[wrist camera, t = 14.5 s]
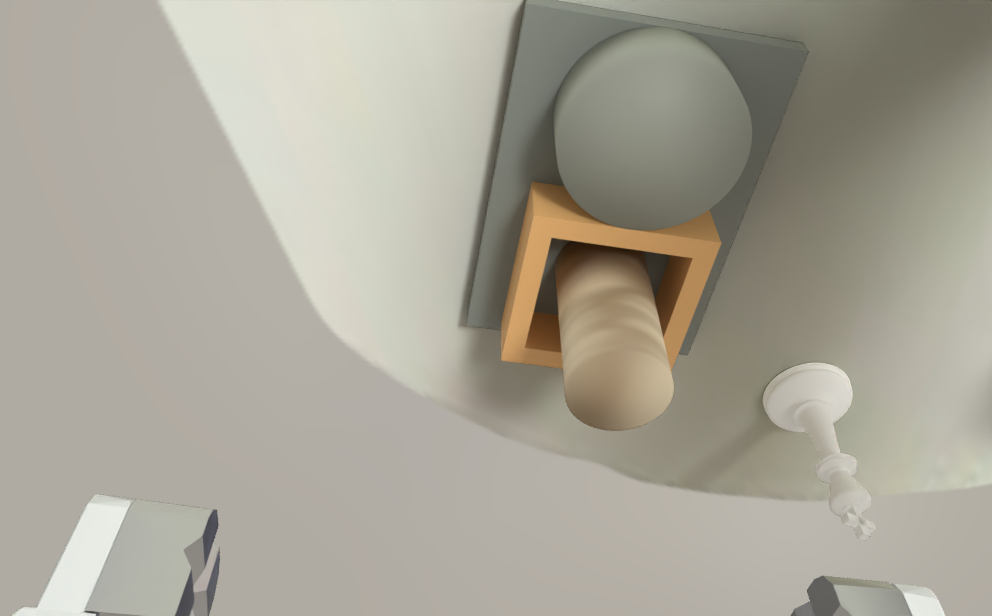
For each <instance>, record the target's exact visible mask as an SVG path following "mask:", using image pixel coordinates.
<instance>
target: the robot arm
mask: <svg viewBox="0 0 992 616" xmlns="http://www.w3.org/2000/svg"><path fill="white" fill-rule="evenodd" d="M217 516H218V515H217V510H215V509H207V508H199V507H192V506H184V505H177V504H169V503H162V502H154V501H147V500H139V499H133V498H124V497H116V496H107V495H98V494H96V495H94V496H93V498H92V499H91V500H90V501H89V502H88V503H87V504H86V505H85V507H84V509H83V511H82V514H81V516H80V518H79V520H78V522H77V524H76V526H75V528H74V530H73V532H72V534H71V536H70V538H69V540H68V542H67V545H66V546H65V548H64V550H63V552H62V554H61V556H60V558H59V561H58V562H57V565H56V567H55V569H54V571H53V573H52V575H51V577H50V579H49V581H48V583H47V585H46V587H45V589H44V591H43V593H42V595H41V597H40V599H39V601H38V603H37V605H36V607H22V608H20V609H19V610H17V611H16V612H15V613H13V614H12V615H11V616H209V613H210V610H211V606H212V602H213V599H214V595H215V589H216V585H217V580H218V574H219V562H220V555H219V553H220V552H219V547H218V546H217V545H216V544H215V543H214V538H215V535H216V532H217V529H218V517H217ZM807 593H808V596H809V599H810V602H808V603H806V604H804V605H802V606H800V607H798V608H796V609H794V611H793V613H792V614H791V616H945V614H944V612H943V609H942V607H941V605H940V603H939V601H938V599H937V597H936V595H935V594H934V593H933V592H932V591H931V590H930V589H929V588H927V587H922V586H913V585H901V584H890V583H888V582H883V581H872V580H862V579H851V578H840V577H831V576H821V577H819V578H817V579H814V581H813V582H812V583H811V585H810V586H809V588H808V589H807Z"/></svg>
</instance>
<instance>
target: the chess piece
mask: <svg viewBox="0 0 992 616" xmlns="http://www.w3.org/2000/svg"><path fill="white" fill-rule="evenodd" d="M852 398H853V392H852V388H851V383H850V380H849V378H848V376H847V375H846V374H845V372H843V371H842V370H841V369H839V368H838V367H836V366H833V365H830V364H826V363H816V362H815V363H805V364H800V365H797V366H794V367H791V368H789V369H787V370H785V371H783V372H781V373H780V374H779V375H777V376H776V377H775V378H774V379H773V380H772V381H771V382H770V383H769V384H768V386H767V387H766V389H765V392H764V394H763V406H764V409H765V411H766V413H767V414H768V416H769V418H770V419H771V421H772V422H773V423H774V424H776V425H777V426H778V427H780V428H782V429H785V430H788V431H793V432H807V434H808V435H809V437H810V439H811V441H812V442H813V444H814V446H815V447H816V449H817V451H818V453H819V455H820V457H821V458H822V459H821V460H820V461H819V462H818V463H817V465H816V467H815V473H816V475H817V477H819V479H820V480H821V481H823V482H825V483H830V497H829V505H830V509H831V511H832V512H833V513H834V514H835V515H837V516H840V517H841V519H842V522H843V524H844V525H847V526H849V527H852V528H854V531H855V533H856V536H857V538H858V539H860V540H863V541H866V540H867V539H868V538H869V537H870V534H871V533H872V532H874V531H875V530H876V527H875V525H874V523H873V522H871V521H869V520H866V519H863V516H862V513H864V512H865V511H866V510H868V508H869V507H870V505H871V497H870V495H869V493H868V492H867V491H866V490H865V489H864V488H863V487H862V486H861V485H860V484H859V483H858V482H857V481H856V480H855V479H854V478H853V476H854V474H855V473H856V471H857V461H856V459H855V458H854V457H853V456H851V455H849V454H846V453H841V452H840V448H839V445H838V441H837V437H836V433H835V429H834V425H833V423H834V422H836V421H837V420H839V419H840V418H841V417H842V416H843V415H844V414H845V413H846V412H847V410H848V409H849V407H850V405H851V402H852Z"/></svg>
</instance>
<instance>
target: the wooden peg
mask: <svg viewBox="0 0 992 616" xmlns="http://www.w3.org/2000/svg"><path fill="white" fill-rule="evenodd" d="M555 277H556V289H557V302H558V314H559V327H560V339H561V351H562V364H563V376H564V389H565V399H566V403H567V406H568V408H569V409H570V411H571V412H572V414H573V415H574V416H575V417H576V418H577V419H579V420H580V421H582V422H583V423H585V424H587V425H589V426H592V427H594V428H598V429H603V430H611V431H620V430H628V429H633V428H637V427H640V426H642V425H645V424H647V423H649V422H651V421H653V420H654V419H656V418H657V417H658V416H659V415H661V414H662V413H663V412H664V411H665V410H666V408H667V407H668V405H669V404H670V402H671V400H672V397H673V394H674V382H673V378H672V373H671V369H670V365H669V360H668V356H667V352H666V347H665V343H664V339H663V334H662V330H661V326H660V321H659V317H658V312H657V308H656V304H655V299H654V295H653V291H652V286H651V282H650V278H649V273H648V269H647V264H646V260H645V256H644V253H643V251H640V250H633V249H626V248H619V247H612V246H605V245H598V244H591V243H584V242H578V241H570V242H568V243H567V244H566V245H565V246H564V247H563V249H562V250H561V252H560V253H559V255H558V257H557V260H556V264H555Z"/></svg>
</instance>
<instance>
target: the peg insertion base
mask: <svg viewBox="0 0 992 616" xmlns="http://www.w3.org/2000/svg"><path fill="white" fill-rule="evenodd" d="M808 52H809V51H808V50H807V48H806V47H805V46H804V45H803V43H800V42H794V41H788V40H783V39H777V38H771V37H765V36H759V35H754V34H748V33H742V32H736V31H730V30H725V29H719V28H713V27H707V26H701V25H695V24H690V23H684V22H678V21H672V20H666V19H661V18H655V17H649V16H643V15H637V14H631V13H626V12H620V11H614V10H608V9H602V8H597V7H591V6H585V5H579V4H573V3H568V2H562V1H556V0H526V1H525V6H524V12H523V17H522V22H521V28H520V33H519V39H518V44H517V49H516V55H515V60H514V65H513V71H512V76H511V82H510V87H509V92H508V98H507V103H506V108H505V114H504V119H503V125H502V130H501V135H500V141H499V146H498V151H497V157H496V162H495V168H494V173H493V178H492V184H491V189H490V195H489V200H488V205H487V211H486V216H485V221H484V227H483V232H482V238H481V243H480V248H479V254H478V259H477V264H476V270H475V275H474V281H473V286H472V291H471V297H470V302H469V307H468V313H467V326H473V327H480V328H488V329H495V330H501V361H508V362H516V363H523V364H531V365H539V366H546V367H554V368H562V369H563V364H562V351H561V339H560V327H559V314H558V302H557V289H556V277H555V264H556V260H557V257H558V255H559V253H560V252H561V250H562V249H563V247H564V246H565V245H566V244H567V243H568V242H570V241H578V242H584V243H591V244H598V245H605V246H612V247H619V248H626V249H633V250H640V251H643V253H644V256H645V260H646V264H647V269H648V273H649V278H650V282H651V286H652V291H653V295H654V299H655V304H656V308H657V312H658V317H659V321H660V326H661V330H662V334H663V339H664V343H665V347H666V352H667V356H668V360H669V365H670V369H671V371H672V368H673V366H674V363H675V361H676V358H677V356H678V354H681V355H688V353H689V350H690V348H691V345H692V343H693V340H694V338H695V335H696V333H697V330H698V328H699V325H700V323H701V320H702V318H703V315H704V313H705V310H706V308H707V305H708V303H709V300H710V298H711V295H712V293H713V290H714V288H715V285H716V283H717V280H718V278H719V275H720V273H721V270H722V268H723V265H724V263H725V260H726V258H727V255H728V253H729V250H730V248H731V245H732V243H733V240H734V238H735V235H736V233H737V230H738V228H739V225H740V223H741V220H742V218H743V215H744V213H745V210H746V208H747V205H748V203H749V200H750V198H751V195H752V193H753V190H754V188H755V185H756V183H757V180H758V178H759V175H760V173H761V170H762V168H763V165H764V163H765V160H766V158H767V155H768V153H769V150H770V148H771V145H772V143H773V140H774V138H775V135H776V133H777V130H778V128H779V125H780V123H781V120H782V118H783V115H784V113H785V110H786V108H787V105H788V103H789V100H790V98H791V95H792V93H793V90H794V88H795V85H796V83H797V80H798V78H799V75H800V72H801V70H802V67H803V65H804V62H805V60H806V57H807V55H808Z"/></svg>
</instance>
